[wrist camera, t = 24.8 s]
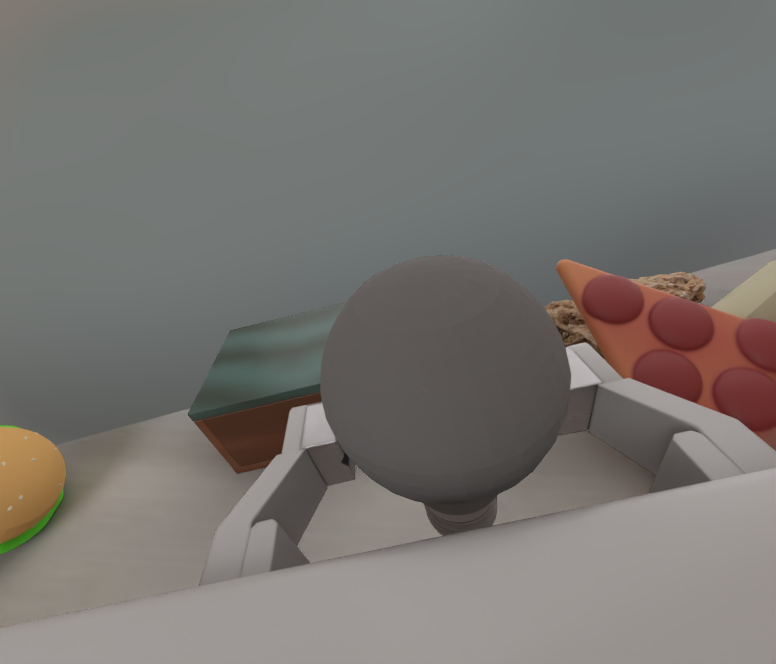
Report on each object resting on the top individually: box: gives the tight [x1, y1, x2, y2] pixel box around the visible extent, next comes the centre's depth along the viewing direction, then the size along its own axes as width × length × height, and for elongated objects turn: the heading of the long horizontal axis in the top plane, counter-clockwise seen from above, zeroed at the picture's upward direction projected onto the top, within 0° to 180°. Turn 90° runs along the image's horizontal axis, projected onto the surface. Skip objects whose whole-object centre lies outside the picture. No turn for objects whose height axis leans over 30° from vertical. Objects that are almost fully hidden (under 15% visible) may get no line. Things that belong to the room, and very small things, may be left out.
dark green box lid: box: [188, 302, 347, 421], centre depth 33 cm, size 12×14×1 cm
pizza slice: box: [556, 259, 776, 451], centre depth 25 cm, size 18×2×20 cm
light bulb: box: [320, 255, 571, 536], centre depth 10 cm, size 6×6×10 cm
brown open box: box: [194, 392, 322, 474], centre depth 35 cm, size 12×14×8 cm
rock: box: [544, 272, 706, 359], centre depth 37 cm, size 17×5×10 cm
